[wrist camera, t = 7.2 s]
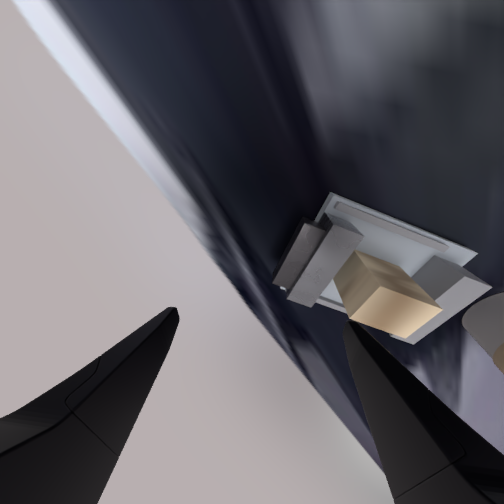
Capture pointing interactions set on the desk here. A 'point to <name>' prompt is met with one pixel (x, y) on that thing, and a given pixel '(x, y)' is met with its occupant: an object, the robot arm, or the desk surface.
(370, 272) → the maple block
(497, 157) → the desk surface
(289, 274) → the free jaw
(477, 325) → the coffee cup
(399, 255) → the vise bed
